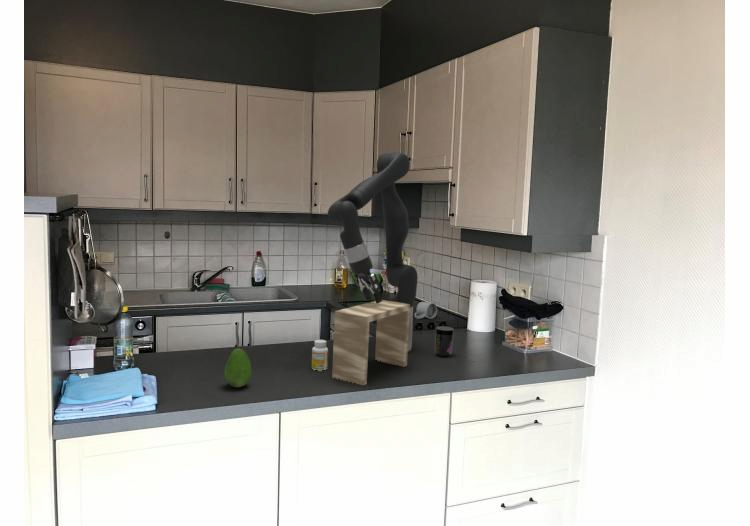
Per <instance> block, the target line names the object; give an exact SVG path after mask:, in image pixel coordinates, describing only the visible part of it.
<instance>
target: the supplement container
mask: <svg viewBox="0 0 750 526" xmlns="http://www.w3.org/2000/svg"><path fill="white" fill-rule="evenodd" d="M454 331H455V330H454V328H453V327H450V326H443V325H441V326H440V325H439V326H436V327H435V337H434V355H435V356H436V357H437V358H438V357H439V358H450V357H452V355H453V344H454Z"/></svg>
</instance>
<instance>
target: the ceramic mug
mask: <svg viewBox="0 0 750 526" xmlns="http://www.w3.org/2000/svg"><path fill="white" fill-rule="evenodd" d="M415 311H416V312H414V313H413V314H414V315H413V316H414V318H415V319H418V320H419V319H423V318H426V319H434V318H435V317H436V316H437V314H438V306H437V304H436V303H434V302H429V301H421V302H419V303H418V304H417V305H416V309H415Z"/></svg>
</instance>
